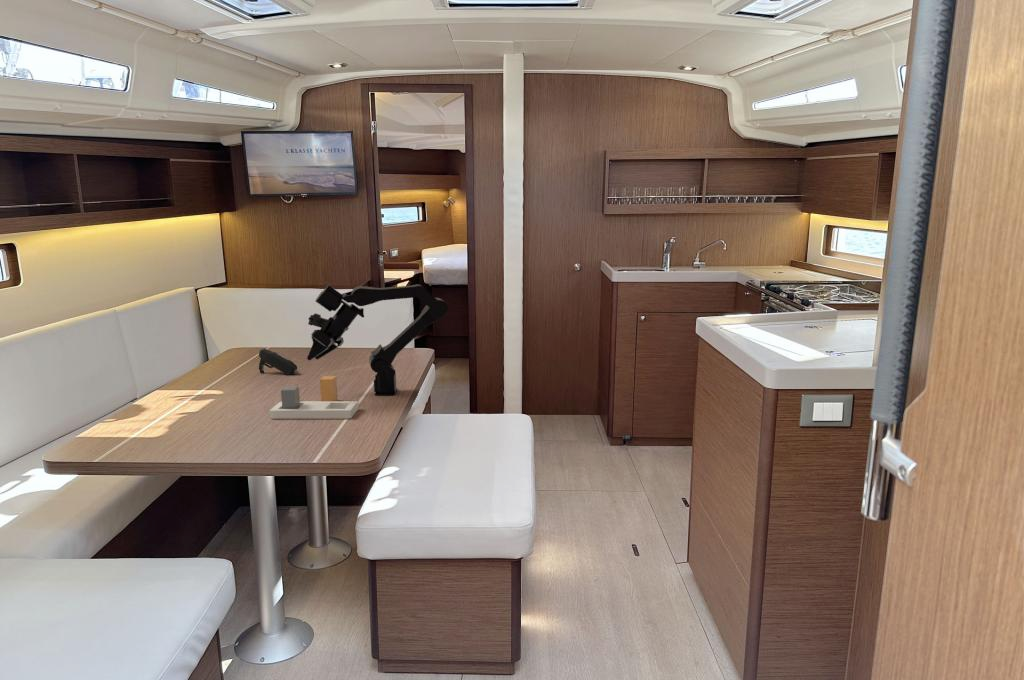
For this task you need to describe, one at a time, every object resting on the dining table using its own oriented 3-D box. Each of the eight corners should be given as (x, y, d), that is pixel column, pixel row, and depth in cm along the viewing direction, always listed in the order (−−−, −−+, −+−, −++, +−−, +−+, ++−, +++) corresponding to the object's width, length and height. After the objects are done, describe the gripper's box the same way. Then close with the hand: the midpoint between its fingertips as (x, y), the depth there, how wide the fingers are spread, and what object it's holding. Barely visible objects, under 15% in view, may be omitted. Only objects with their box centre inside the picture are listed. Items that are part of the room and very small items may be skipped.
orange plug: (337, 400, 221) (336, 376, 219) (334, 403, 217) (332, 379, 215) (325, 400, 221) (323, 376, 219) (321, 403, 217) (319, 379, 215)
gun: (289, 390, 253) (298, 367, 250) (251, 369, 254) (260, 346, 251) (292, 388, 256) (302, 365, 253) (256, 367, 257) (265, 344, 254)
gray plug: (300, 411, 209) (298, 386, 207) (296, 415, 205) (294, 390, 204) (287, 411, 209) (285, 386, 208) (283, 416, 205) (280, 390, 204)
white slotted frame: (358, 409, 211) (357, 401, 210) (350, 418, 202) (350, 410, 202) (280, 409, 212) (280, 401, 211) (269, 418, 203) (269, 410, 202)
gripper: (329, 306, 228) (300, 343, 228) (313, 303, 210) (282, 344, 210) (355, 326, 229) (327, 364, 228) (343, 325, 210) (312, 366, 210)
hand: (312, 359), depth 219 cm, fingers open, 9 cm apart
